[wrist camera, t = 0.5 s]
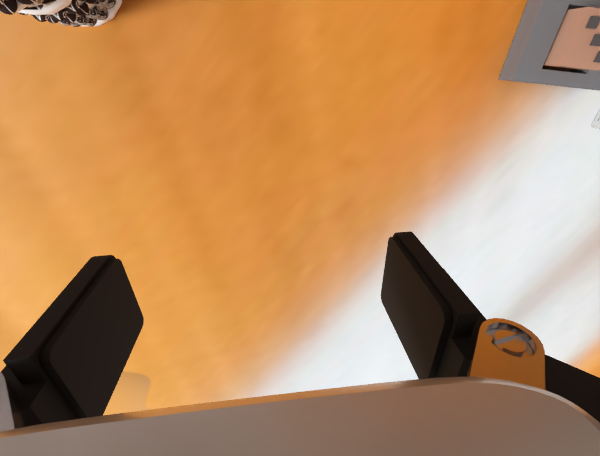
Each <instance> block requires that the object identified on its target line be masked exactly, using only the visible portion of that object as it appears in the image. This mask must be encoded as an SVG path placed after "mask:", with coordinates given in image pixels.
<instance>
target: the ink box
mask: <svg viewBox="0 0 600 456" xmlns="http://www.w3.org/2000/svg"><path fill="white" fill-rule="evenodd" d="M592 127H593V128H598V129H600V110H599V112H598V114H597V116H596V117H595V119H594V121H593V123H592Z"/></svg>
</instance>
